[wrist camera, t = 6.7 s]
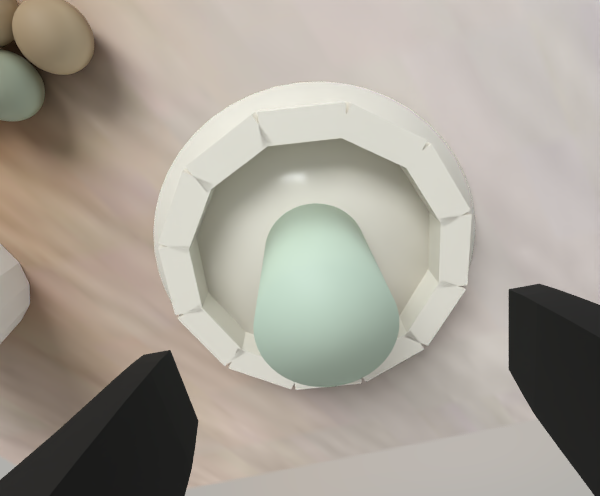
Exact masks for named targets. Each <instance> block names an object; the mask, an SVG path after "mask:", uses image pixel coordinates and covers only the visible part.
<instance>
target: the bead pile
mask: <svg viewBox="0 0 600 496" xmlns="http://www.w3.org/2000/svg"><path fill="white" fill-rule="evenodd" d="M14 39H15V42H16V44H17V46H18V48H19V49H20V51H21V52H22V53H23V55H24V56H25V57H26V58H27V59H28V60H29V61H30V62H31V63H33V64H34V65H35V66H37V67H38V68H40V69H42V70H44V71H47V72H49V73H53V74H59V75H68V74H73V73H76V72H78V71H80V70H82V69H83V68H84V67H86V65H87V64H88V63H89V62H90V60H91V58H92V56H93V53H94V37H93V33H92V30H91V28H90V25H89V24H88V22H87V20H86V19H85V17H84V16H83V15H82V14H81V13H80V12H79V11H78V10H77V9H76V8H75V7H74V6H72V5H71V4H70V3H68V2H66V1H64V0H25V1H23V2H22V3H21V4H20V5H18V3H17V1H16V0H0V47H3V46H5V45H7V44H9V43H10V42H12V41H13V40H14ZM31 63H29V62H28V61H27V60H26V59H24V58H23V57H21V56H19V55H17V54H15V53H13V52H10V51H7V50H2V49H0V120H3V121H21V120H25V119H28V118H30V117H32V116H33V115H35V114H36V113H37V112H38V111H39V110H40V108H41V107H42V105H43V102H44V98H45V88H44V83H43V81H42V78H41V76H40V75H39V73H38V72H37V70H36V69H35V68H34V66H33V65H32V64H31Z"/></svg>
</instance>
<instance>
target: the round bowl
mask: <svg viewBox="0 0 600 496" xmlns="http://www.w3.org/2000/svg"><path fill="white" fill-rule="evenodd" d="M313 203H318V204H327V205H331V206H334V207H337V208H339V209H341V210H343V211H344V212H346V213H347V214H348V215H350V216H351V217H352V218H353V219H354V220H355V221H356V223H357V224H358V226H359V227H360V229H361V231H362V233H363V235H364V238H365V240H366V242H367V244H368V246H369V248H370V250H371V252H372V254H373V256H374V258H375V261H376V263H377V265H378V267H379V269H380V271H381V273H382V275H383V277H384V279H385V281H386V284H387V286H388V288H389V290H390V292H391V294H392V296H393V298H394V300H395V302H396V305H397V309H398V313H399V332H398V337H397V340H396V343H395V345H394V347H393V349H392V351H391V353H390V354H389V356H388V357H387V358H386V359H385V361H384V362H383V363H382V364H381V365H380V366H379V367H378V368H377V369H375V370H374V371H373V372H371V373H370V374H368V375H367V376H365V377H363V379H364V380H365V381H366V382H367V381H369V380H371V379H373V378H374V377H376V376H378V375H380V374H381V373H383V372H385V371H387V370H388V369H390V368H392V367H394V366H396V365H397V364H399V363H401V362H403V361H404V360H406V359H408V358H410V357H411V356H413V355H415V354H417V353H418V352H420V351H422V350H424V347H423V345H422V344H424V345H427V346H428V345H429V344H430V342H431V341H432V339H433V338H434V336H435V335H436V333H437V332H438V330H439V329H440V327H441V326H442V324H443V323H444V321H445V320H446V318H447V317H448V315H449V314H450V312H451V311H452V309H453V308H454V306H455V305H456V303H457V302H458V300H459V299H460V298H461V296H462V295H463V293H464V292H465V290H466V289H465V288H464V287H463V286H464V285H467V284H468V269H469V266H470V262H471V258H472V254H473V246H474V239H475V216H474V209H473V203H472V197H471V193H470V190H469V187H468V184H467V180H466V177H465V175H464V173H463V171H462V169H461V167H460V165H459V163H458V160H457V158H456V157H455V155H454V154H453V152H452V151H451V150H450V148H449V147H448V145H447V144H446V142H445V141H444V140H443V138H442V137H441V136H440V135H439V134H438V133H437V132H436V131H435V130H434V129H433V128H432V126H431V125H430V124H428V123H427V122H426V121H425V120H423V119H422V118H421V117H420V116H419V115H417V114H416V113H415V112H414V111H412V110H411V109H409V108H407V107H406V106H404V105H402V104H401V103H399V102H397V101H395V100H394V99H392V98H390V97H387V96H385V95H382V94H380V93H377V92H375V91H372V90H370V89H366V88H362V87H358V86H354V85H349V84H343V83H333V82H323V81H320V82H298V83H292V84H287V85H282V86H276V87H272V88H269V89H266V90H264V91H261V92H258V93H255V94H252V95H249V96H247V97H245V98H243V99H242V100H240V101H238V102H236V103H234V104H232V105H230V106H228V107H227V108H225V109H224V110H222V111H221V112H220V113H218V114H217V115H215V116H214V117H212V118H211V119H210V120H209V121H208V122H206V123H205V124H204V125H203V126H202V127H201V128H200V129H199V130H198V131H197V132H196V133H195V134H194V135H193V136H192V137H191V138H190V140H189V141H188V142H187V143H186V145H185V146H184V147H183V148H182V150H181V151H180V152H179V154H178V155H177V157H176V159H175V161H174V162H173V164H172V166H171V167H170V169H169V171H168V173H167V176H166V178H165V180H164V183H163V185H162V188H161V190H160V194H159V198H158V202H157V206H156V211H155V220H154V231H153V232H154V251H155V256H156V262H157V267H158V271H159V274H160V277H161V280H162V283H163V286H164V288H165V290H166V292H167V294H168V296H169V298H170V300H171V302H172V304H173V308H174V312H175V315H179V317H178V320H179V321H180V322H181V323H182V324H183V325H184V326H185V327H186V328H187V329H188V330H189V331H190V332H191V333H192V334H193V335H194V336H195V337H196V338H197V339H198V340H199V341H200V342H201V343H202V344H203V345H204V346H205V347H206V348H207V349H208V350H209V351H210V352H211V353H212V354H213V355H214V356H215V357H216V358H217V359H218V360H219V361H220V362H221V363H222V364H223V365H224V366H225V365H227V364H228V363H230V364H229V369H232V370H235V371H238V372H241V373H244V374H247V375H250V376H253V377H256V378H259V379H262V380H265V381H268V382H270V383H273V384H276V385H279V386H282V387H285V388H288V389H292V387H293V385H294V383H295V389H296V390H300V389H311V388H321V387H313V386H307V385H302V384H299V383H296V382H293V381H291V380H289V379H287V378H285V377H283V376H282V375H280V374H278V373H277V372H276V371H275V370H273V369H272V368H271V367H270V366H269V365H268V364H267V363H266V361H265V360H264V359H263V357H262V356H261V354H260V352H259V350H258V348H257V345H256V342H255V338H254V330H253V324H254V317H255V310H256V303H257V297H258V290H259V284H260V277H261V271H262V264H263V258H264V251H265V245H266V240H267V236H268V234H269V232H270V230H271V228H272V226H273V225H274V224H275V222H276V221H277V220H278V219H279V218H280V217H281V216H282V215H283V214H285V213H286V212H288V211H290V210H291V209H293V208H296V207H298V206H301V205H306V204H313ZM352 384H362V378H361V379H359V380H357V381H354V382H351V383H348V384H345V385H352ZM340 386H342V385H340Z"/></svg>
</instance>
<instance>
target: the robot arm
mask: <svg viewBox="0 0 600 496" xmlns="http://www.w3.org/2000/svg"><path fill="white" fill-rule="evenodd" d="M509 370H510V372H511V374H512V376H513V378H514V379H515V381H516V383H517V385H518V387H519V388H520V390H521V392H522V394H523V396H524V397H525V399H526V401H527V402H528V404H529V406H530V407H531V409H532V411H533V413H534V414H535V416H536V417H537V418H538V420H539V421H540V422H541V424H542V425H543V426H544V428H545V429H546V431H547V432H548V433H549V435H550V436H551V437H552V439H553V440H554V442H555V443H556V444H557V446H558V447H559V448H560V450H561V451H562V452H563V454H564V455H565V456H566V458H567V459H568V460H569V462H570V463H571V464H572V466H573V467H574V468H575V470H576V471H577V472H578V474H579V475H580V476H581V478H582V479H583V481H584V482H585V483H586V485H587V486H588V487H589V489H590V490H591V491H592V493H593V494H594V495H595V496H600V305H598V304H596V303H593V302H590V301H588V300H585V299H582V298H580V297H577V296H574V295H571V294H569V293H566V292H563V291H560V290H557V289H554V288H551V287H548V286H545V285H541V284H536V285H530V286H525V287H519V288H514V289H509ZM197 427H198V419H197V417H196V414H195V411H194V409H193V406H192V404H191V401H190V399H189V396H188V394H187V391H186V389H185V386H184V384H183V381H182V379H181V376H180V373H179V371H178V368H177V366H176V363H175V361H174V358H173V356H172V353H171V351H170V350H168V351H163V352H157V353H152V354H146V355H143V356H141V357H140V358H139V359H138V360H136V361H135V362H134V363H133V364H131V365H130V366H129V367H128V368H127V369H125V370H124V371H123V372H122V373H121V374H120V375H119V376H118V377H116V378H115V379H114V380H113V381H112V382H111V383H110V384H109V385H108V386H106V387H105V388H104V389H103V390H102V391H101V392H100V393H99V394H98V395H97V396H96V397H94V398H93V399H92V400H91V401H90V402H89V403H88V404H87V405H86V406H85V407H83V408H82V409H81V410H80V411H79V412H78V413H77V414H76V415H75V416H73V417H72V418H71V419H70V420H69V421H68V422H67V423H66V424H65V425H64V426H62V427H61V428H60V429H59V430H58V431H57V432H56V433H55V434H53V435H52V436H51V437H50V438H49V439H48V440H46V441H45V442H44V443H43V444H42V445H41V446H39V447H38V448H37V449H36V450H35V451H34V452H32V453H31V454H30V455H29V456H28V457H27V458H25V459H24V460H23V461H22V462H21V463H20V464H18V465H17V466H16V467H15V468H14V469H13V470H11V471H10V472H9V473H8V474H7V475H6V476H4V477H3V478H2V479H1V480H0V496H185V492H186V488H187V485H188V481H189V477H190V473H191V469H192V463H193V456H194V450H195V443H196V435H197Z"/></svg>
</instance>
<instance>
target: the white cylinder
mask: <svg viewBox="0 0 600 496" xmlns="http://www.w3.org/2000/svg"><path fill="white" fill-rule="evenodd" d="M29 305H30V285H29V282H28V280H27V278H26V276H25V273H24V271H23V269H22V267H21V265H20V263H19V262H18V261H17V260H16V259H15V258H14V257H13V256H12V255H11V254H10V253H9V252H8V251H7V250H6V249H5V248H4V247H3V246H2V245H1V244H0V344H1V343H2V341H3V340H4V339H5V338H6V337H7V336H8V335H9V334H10V332H11V331H12V330H13V329H14V328H15V327H16V326H17V325H18V324H19V322H20V321H21V320H22V318H23V316H24V314H25V313H26V311H27V309H28V307H29Z"/></svg>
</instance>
